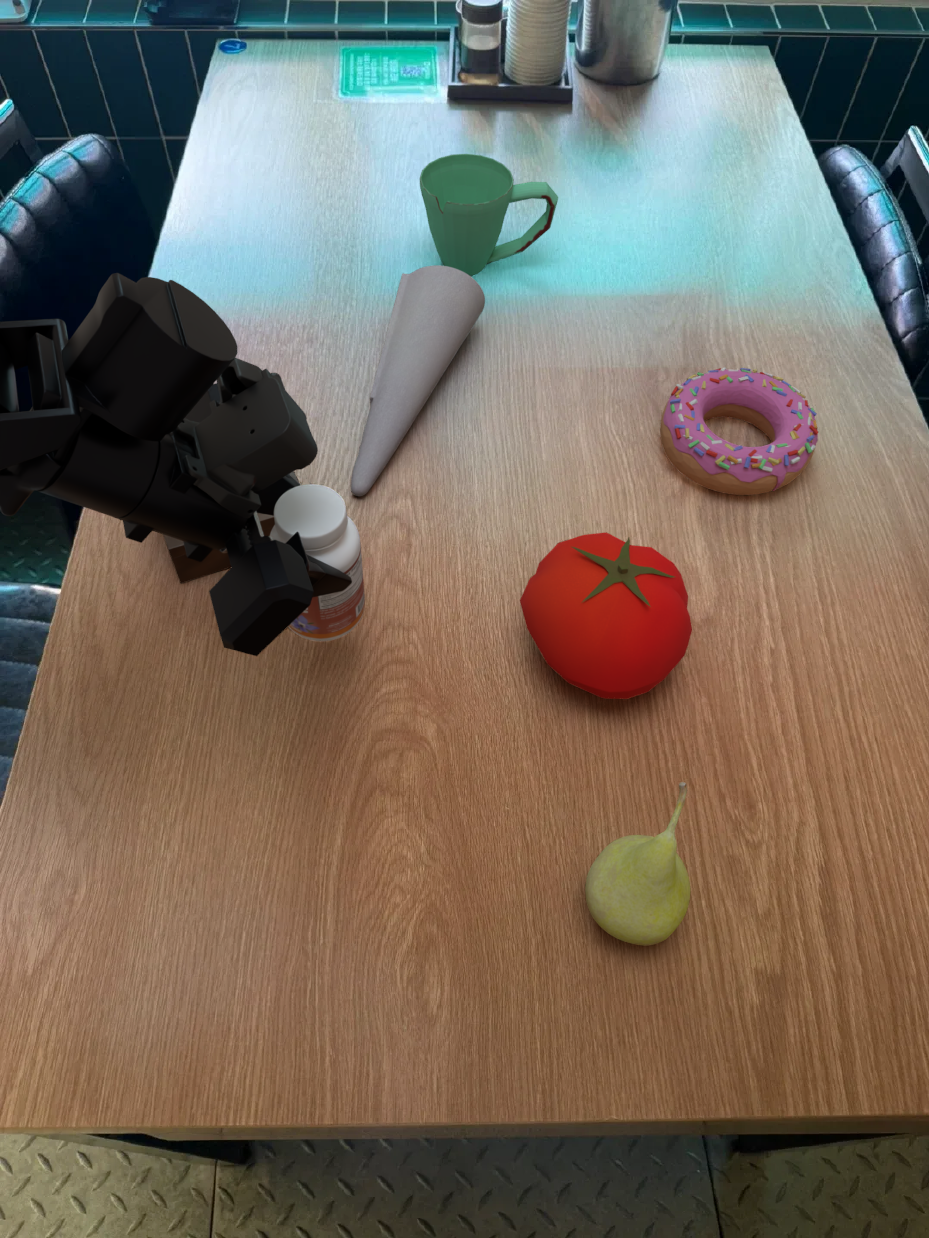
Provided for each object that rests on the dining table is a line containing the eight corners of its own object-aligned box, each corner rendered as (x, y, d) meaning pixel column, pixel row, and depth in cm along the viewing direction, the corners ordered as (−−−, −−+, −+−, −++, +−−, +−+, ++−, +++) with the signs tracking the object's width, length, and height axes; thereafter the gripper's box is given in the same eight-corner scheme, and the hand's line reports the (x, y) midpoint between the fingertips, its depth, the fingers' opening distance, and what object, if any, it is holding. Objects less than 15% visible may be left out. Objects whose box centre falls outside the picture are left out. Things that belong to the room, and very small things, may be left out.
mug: (420, 289, 104) (419, 204, 95) (421, 237, 109) (420, 152, 101) (553, 291, 104) (563, 206, 96) (547, 239, 110) (556, 155, 102)
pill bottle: (267, 599, 70) (244, 496, 62) (340, 565, 73) (329, 462, 64) (305, 658, 68) (287, 560, 59) (381, 622, 70) (374, 521, 61)
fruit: (565, 932, 63) (589, 866, 54) (602, 835, 67) (630, 758, 58) (661, 974, 62) (703, 915, 52) (693, 872, 66) (737, 800, 56)
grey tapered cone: (440, 481, 81) (486, 271, 93) (341, 466, 81) (400, 259, 94) (440, 531, 88) (483, 329, 100) (349, 517, 88) (403, 318, 100)
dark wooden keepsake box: (180, 583, 80) (168, 549, 76) (151, 502, 85) (138, 466, 81) (316, 540, 83) (310, 505, 79) (280, 464, 88) (273, 428, 84)
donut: (634, 411, 93) (644, 371, 89) (767, 389, 95) (782, 349, 91) (690, 518, 85) (703, 479, 81) (834, 491, 87) (853, 452, 83)
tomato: (709, 676, 75) (744, 597, 67) (584, 748, 71) (605, 674, 63) (608, 564, 82) (628, 479, 73) (489, 625, 78) (495, 542, 69)
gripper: (251, 493, 45) (461, 579, 57) (183, 270, 55) (373, 381, 67) (125, 630, 50) (342, 684, 61) (83, 401, 60) (277, 484, 71)
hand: (335, 549), depth 65 cm, fingers closed on pill bottle, 6 cm apart
